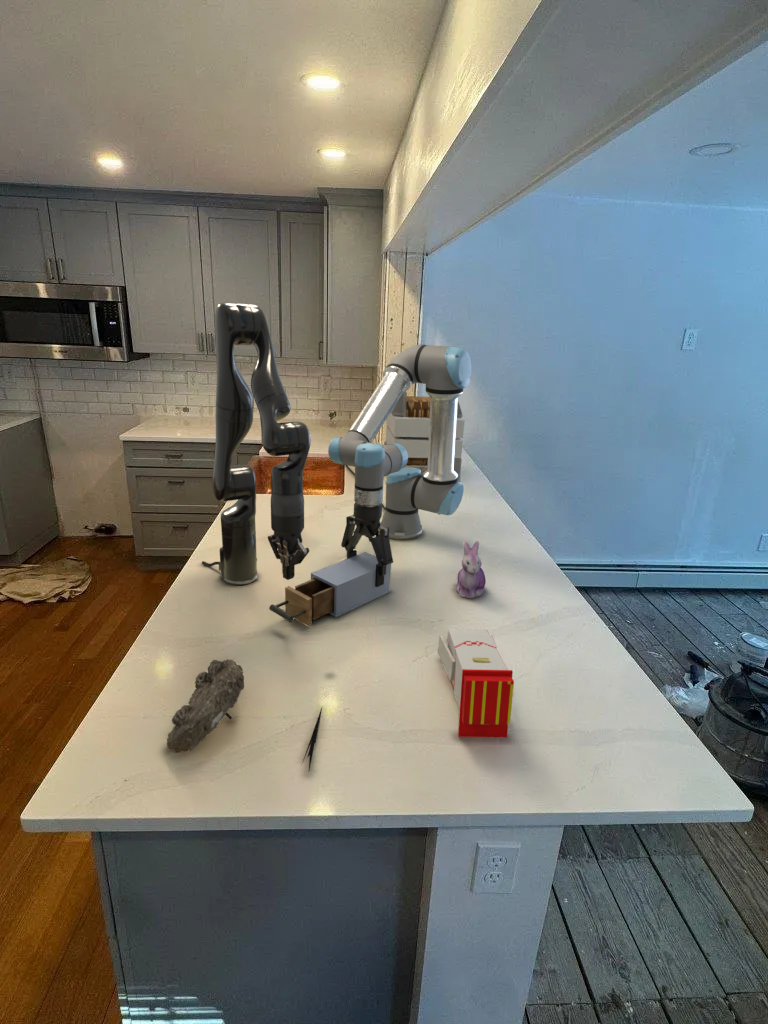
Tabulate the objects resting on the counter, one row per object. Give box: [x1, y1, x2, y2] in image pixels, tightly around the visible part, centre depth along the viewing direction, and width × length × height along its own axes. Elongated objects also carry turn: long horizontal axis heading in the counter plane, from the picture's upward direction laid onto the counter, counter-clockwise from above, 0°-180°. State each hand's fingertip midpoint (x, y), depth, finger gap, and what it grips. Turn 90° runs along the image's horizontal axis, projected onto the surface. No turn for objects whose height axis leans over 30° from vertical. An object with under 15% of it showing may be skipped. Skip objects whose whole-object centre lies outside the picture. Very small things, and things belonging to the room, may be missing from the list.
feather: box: [301, 673, 332, 771], centre depth 108 cm, size 2×28×2 cm
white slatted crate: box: [383, 391, 465, 482], centre depth 268 cm, size 34×33×41 cm
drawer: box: [268, 578, 335, 627], centre depth 145 cm, size 25×9×7 cm, turn 138°
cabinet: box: [310, 551, 392, 618], centre depth 153 cm, size 20×10×9 cm, turn 138°
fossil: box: [166, 658, 245, 754], centre depth 106 cm, size 22×10×15 cm
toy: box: [437, 628, 515, 738], centre depth 117 cm, size 12×13×30 cm
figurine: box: [455, 540, 487, 599], centre depth 158 cm, size 9×10×15 cm
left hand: (288, 578), depth 135 cm, fingers closed
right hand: (365, 578), depth 157 cm, fingers closed on cabinet, 10 cm apart
